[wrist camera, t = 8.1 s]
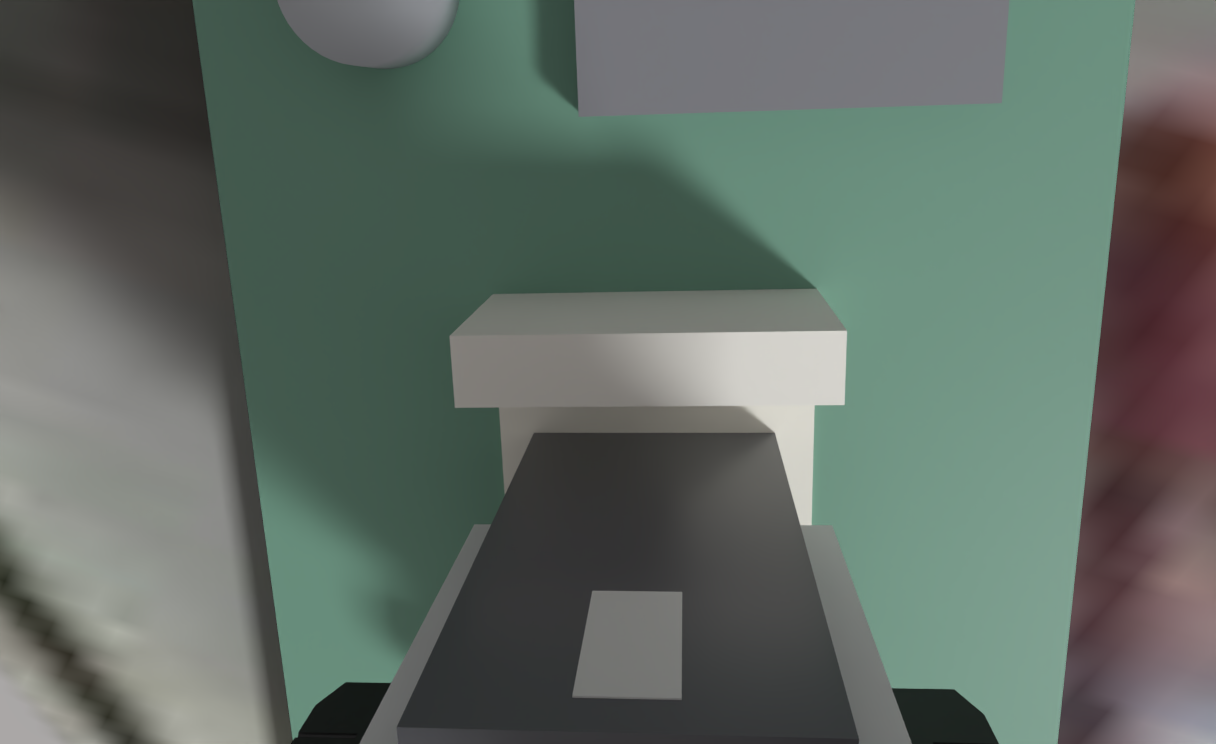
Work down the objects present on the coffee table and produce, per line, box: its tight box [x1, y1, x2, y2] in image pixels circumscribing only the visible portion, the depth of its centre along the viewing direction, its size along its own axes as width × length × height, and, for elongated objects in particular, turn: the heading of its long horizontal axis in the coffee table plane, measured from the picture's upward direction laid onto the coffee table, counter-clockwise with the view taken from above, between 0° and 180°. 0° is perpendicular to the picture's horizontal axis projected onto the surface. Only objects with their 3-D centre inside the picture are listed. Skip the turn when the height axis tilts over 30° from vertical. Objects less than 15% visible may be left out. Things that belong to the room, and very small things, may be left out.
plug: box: [397, 433, 859, 744], centre depth 13 cm, size 5×4×8 cm
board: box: [192, 0, 1135, 744], centre depth 15 cm, size 20×14×4 cm
